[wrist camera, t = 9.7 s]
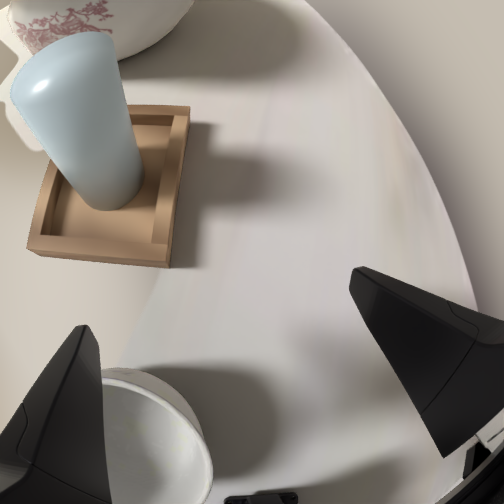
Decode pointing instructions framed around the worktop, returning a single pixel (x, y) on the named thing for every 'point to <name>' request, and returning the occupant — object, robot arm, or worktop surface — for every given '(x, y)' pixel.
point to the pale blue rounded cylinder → (82, 117)
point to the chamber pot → (96, 21)
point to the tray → (127, 217)
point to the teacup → (152, 442)
